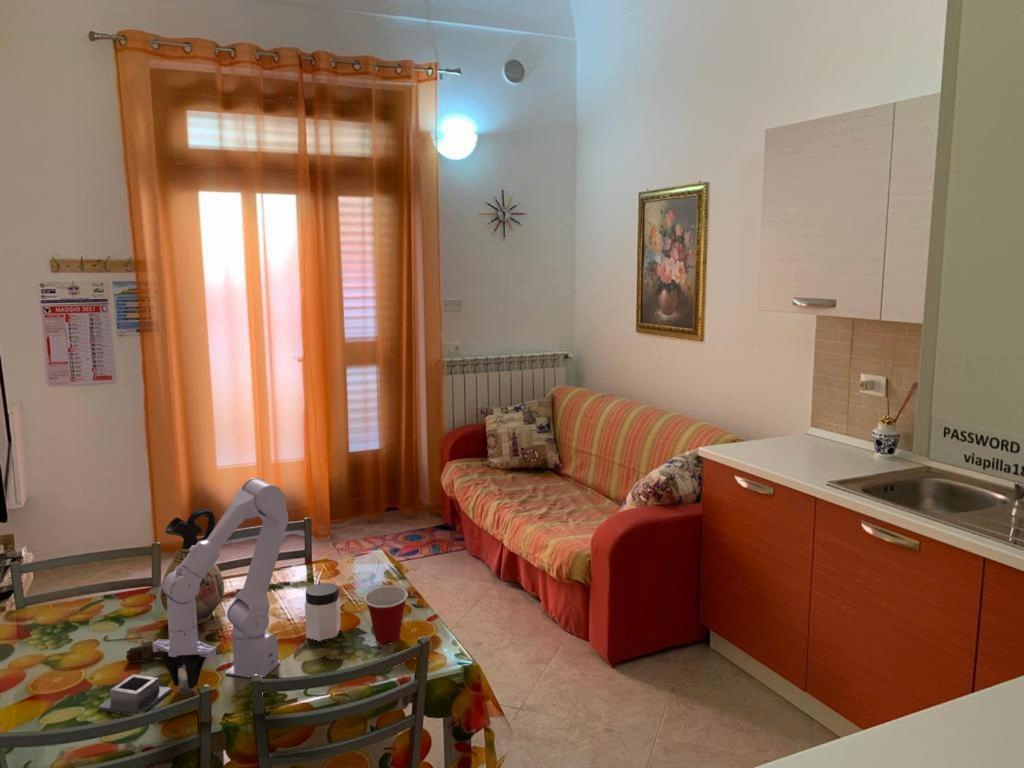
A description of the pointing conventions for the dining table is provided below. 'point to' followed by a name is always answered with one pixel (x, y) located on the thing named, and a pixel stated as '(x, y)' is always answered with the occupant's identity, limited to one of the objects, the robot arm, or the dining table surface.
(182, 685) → the pale grey cylinder
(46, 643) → the dining table surface
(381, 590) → the plastic cup
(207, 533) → the ceramic jug
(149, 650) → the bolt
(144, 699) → the square socket base plate
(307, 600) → the jar
